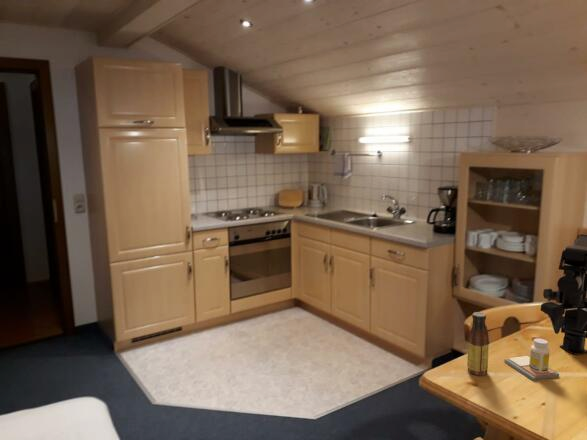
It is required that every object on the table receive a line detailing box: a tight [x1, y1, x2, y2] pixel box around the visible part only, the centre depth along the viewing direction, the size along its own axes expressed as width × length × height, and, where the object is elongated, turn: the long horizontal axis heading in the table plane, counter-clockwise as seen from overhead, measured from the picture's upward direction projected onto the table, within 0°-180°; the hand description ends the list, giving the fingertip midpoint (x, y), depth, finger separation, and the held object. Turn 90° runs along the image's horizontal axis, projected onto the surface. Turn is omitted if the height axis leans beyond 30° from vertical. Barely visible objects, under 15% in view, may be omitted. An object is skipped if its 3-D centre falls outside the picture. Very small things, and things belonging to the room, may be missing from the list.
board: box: [503, 355, 560, 382], centre depth 154 cm, size 10×13×1 cm
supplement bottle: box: [529, 338, 551, 373], centre depth 150 cm, size 5×5×10 cm
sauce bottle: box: [466, 311, 489, 377], centre depth 151 cm, size 7×6×20 cm
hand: (567, 332), depth 153 cm, fingers open, 9 cm apart
